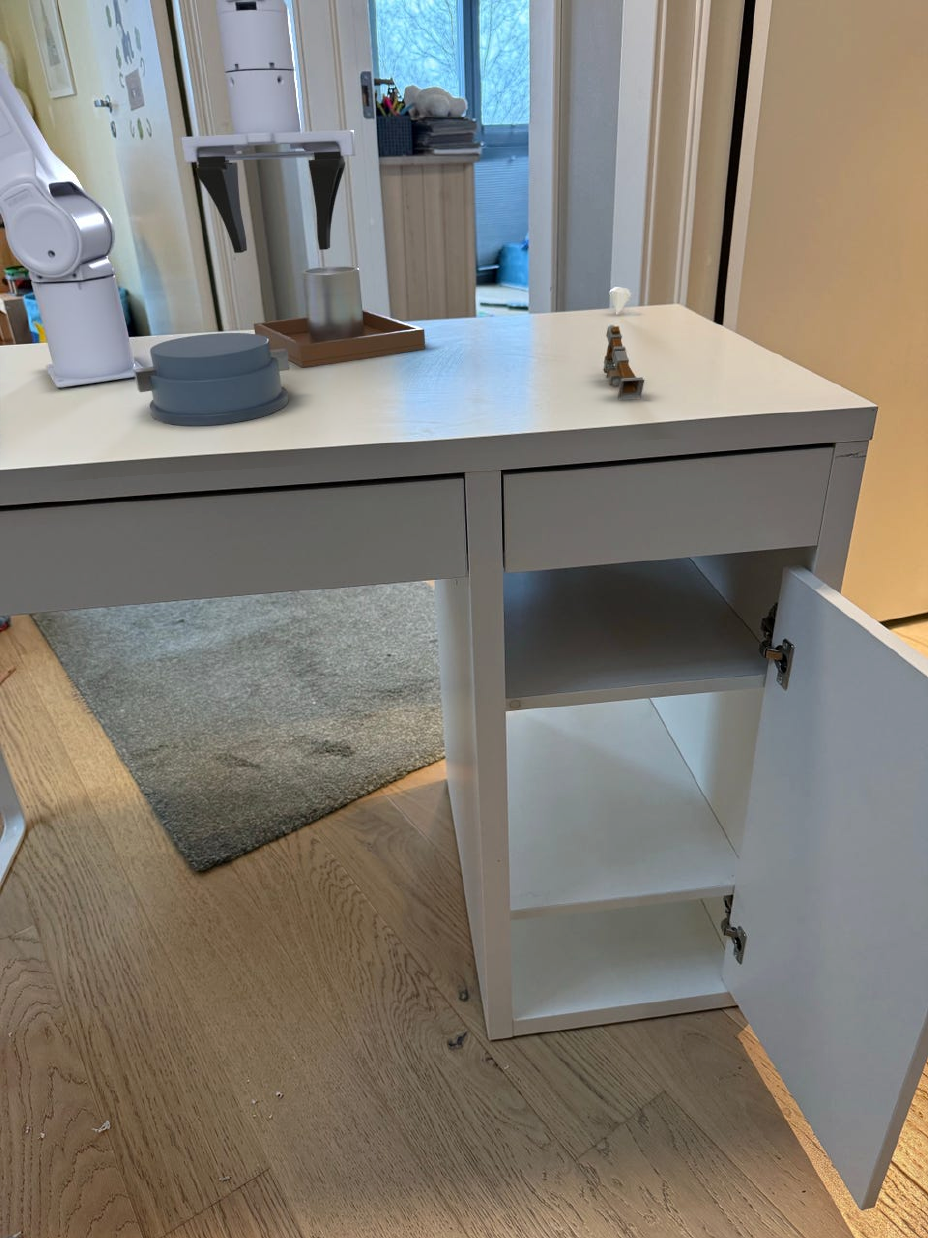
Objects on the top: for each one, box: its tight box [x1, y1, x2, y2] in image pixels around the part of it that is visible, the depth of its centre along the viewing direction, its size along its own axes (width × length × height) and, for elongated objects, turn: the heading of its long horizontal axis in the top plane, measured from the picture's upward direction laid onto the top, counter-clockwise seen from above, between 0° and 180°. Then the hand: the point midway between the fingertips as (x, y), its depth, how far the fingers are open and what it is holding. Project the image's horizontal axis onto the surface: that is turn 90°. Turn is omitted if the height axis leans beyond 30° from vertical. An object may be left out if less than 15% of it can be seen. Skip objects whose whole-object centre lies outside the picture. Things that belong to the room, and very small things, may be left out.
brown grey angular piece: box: [602, 324, 645, 401], centre depth 71 cm, size 2×8×4 cm, turn 5°
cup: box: [300, 265, 365, 344], centre depth 89 cm, size 6×6×7 cm
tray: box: [253, 309, 426, 368], centre depth 90 cm, size 15×13×2 cm
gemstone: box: [608, 286, 634, 315], centre depth 100 cm, size 3×3×3 cm
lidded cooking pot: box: [134, 332, 291, 427], centre depth 69 cm, size 11×12×5 cm
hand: (282, 250), depth 78 cm, fingers open, 7 cm apart
